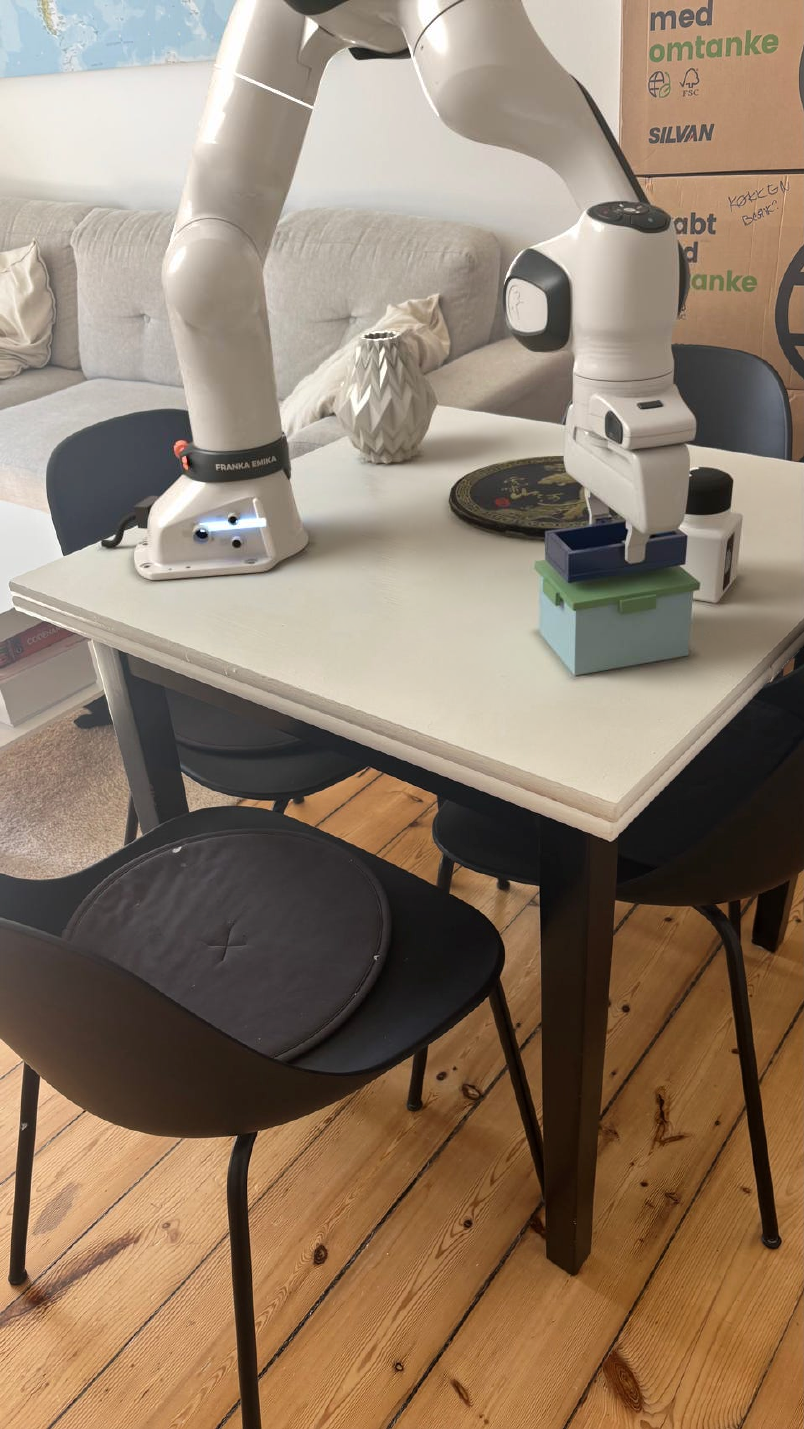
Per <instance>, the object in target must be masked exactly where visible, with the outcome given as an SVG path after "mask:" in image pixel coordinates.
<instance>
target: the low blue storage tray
mask: <svg viewBox="0 0 804 1429" xmlns="http://www.w3.org/2000/svg"><path fill="white" fill-rule="evenodd" d="M627 534H628V529H626V520H625V519H622V520H616V521H609V522H602V523H596V524H589V525H583V526H576V527H570V528H563V529H556V530H550V531H545V540H544V560H546V561H547V562H548V563H549V564H550V565H551V566H552V567H553V568H554V569H555V570H556V571H557V572H558V573H559V574H560V575H561V576H562V577H563V579H564V580H565V581H566V582H567V583H574V582H580V581H587V580H593V579H599V578H605V577H611V576H618V575H624V574H630V573H636V572H642V571H649V570H655V569H661V568H667V567H673V566H680V565H685V563H686V551H687V538H688V536H687V535H686V534H685V533H683V532H682V531H681V530H679V529H677V530H675V531H671V532H666V533H660V534H652V535H650V537H649V539H648V541H647V543H646V546H645V558H644V560H643V561H642V562H637V563H631V564H630V563H628V562H627V561H626V560H625V559H624V558H623V557H622V556H621V551H622V549H621V541H626V538H627Z"/></svg>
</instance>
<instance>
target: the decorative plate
mask: <svg viewBox="0 0 804 1429" xmlns="http://www.w3.org/2000/svg"><path fill="white" fill-rule="evenodd" d="M448 504H449V507H450V510H451V512H452V513H453V514H454V515H455V517H457V518H458V520H459V519H460V520H461V521H462V522H464V523H466V524H467V525H469V526H472V527H473V528H477V529H480V530H481V531H485V532H488V533H493V534H497V535H500V536H506V537H511V538H519V539H527V540H541V541H545V531H550V530H556V529H563V528H570V527H576V526H583V525H589V524H590V514H589V511H588V507H587V502H586V498H585V487H584V486H583V485H581V484H580V483H579V482H578V481H576V480H575V479H574V478H573V477H571V476H570V475H569V474H568V473H567V472H566V469H565V465H564V455H545V456H533V457H524V458H518V459H510V460H507V461H506V460H505V461H501V462H498V463H493V464H490V465H487V466H484V467H483V466H482V467H481V468H480V467H479V468H478V469H475V470H472V471H471V472H469V473H466V474H465V475H463V476H462V477H460V478H458V479H457V481H456V482H455V483H454V484H453V486H452V487H451V488H450V490H449V496H448ZM608 507H609V506H608ZM609 514H610V515H611V516H612V521H616V520H622V519H624V518H622V517H621V516H620V515H619V514H617V513H616V512H615V511H614V510H612V509H611V508H610V507H609Z"/></svg>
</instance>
